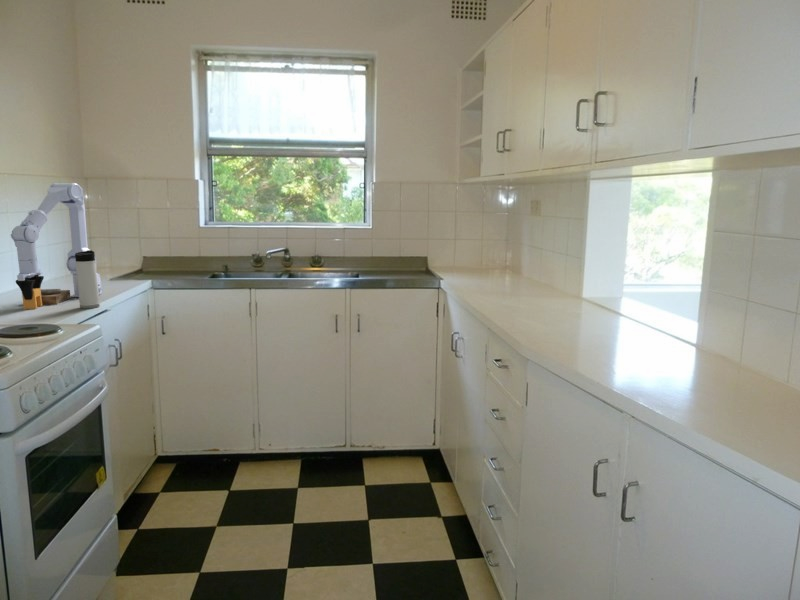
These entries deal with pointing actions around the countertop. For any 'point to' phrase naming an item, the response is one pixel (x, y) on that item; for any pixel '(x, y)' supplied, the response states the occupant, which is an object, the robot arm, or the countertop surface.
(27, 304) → the orange notched block
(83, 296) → the travel mug
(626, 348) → the countertop surface
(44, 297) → the square wooden frame
